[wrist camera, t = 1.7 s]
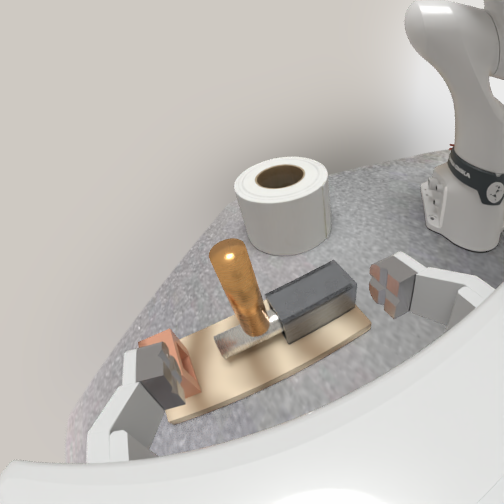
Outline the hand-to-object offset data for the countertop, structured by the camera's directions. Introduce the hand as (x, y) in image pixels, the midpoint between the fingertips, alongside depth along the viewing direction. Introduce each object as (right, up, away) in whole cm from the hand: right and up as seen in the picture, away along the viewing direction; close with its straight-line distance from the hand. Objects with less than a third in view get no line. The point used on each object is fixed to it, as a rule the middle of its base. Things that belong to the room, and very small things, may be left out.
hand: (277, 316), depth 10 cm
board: (0, -10, +24) cm, 26 cm away
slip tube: (+3, -7, +23) cm, 24 cm away
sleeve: (+7, -5, +25) cm, 26 cm away
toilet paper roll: (+6, +7, +41) cm, 42 cm away
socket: (-10, -13, +22) cm, 27 cm away
